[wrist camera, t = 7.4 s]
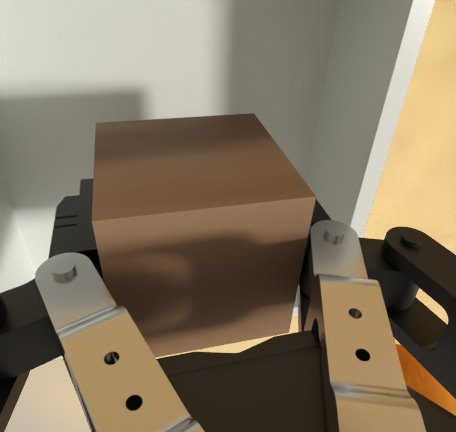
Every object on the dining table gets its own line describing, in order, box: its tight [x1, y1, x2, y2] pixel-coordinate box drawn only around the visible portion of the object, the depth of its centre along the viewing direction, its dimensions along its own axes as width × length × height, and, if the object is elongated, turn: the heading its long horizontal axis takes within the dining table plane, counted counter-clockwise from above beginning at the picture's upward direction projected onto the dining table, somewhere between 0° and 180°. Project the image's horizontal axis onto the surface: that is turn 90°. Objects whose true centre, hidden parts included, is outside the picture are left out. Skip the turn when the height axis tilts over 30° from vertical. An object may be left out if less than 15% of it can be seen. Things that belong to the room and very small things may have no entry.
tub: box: [0, 0, 435, 360], centre depth 15 cm, size 14×14×5 cm
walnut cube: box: [92, 113, 316, 357], centre depth 12 cm, size 5×5×5 cm
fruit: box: [395, 344, 456, 416], centre depth 30 cm, size 10×10×8 cm
